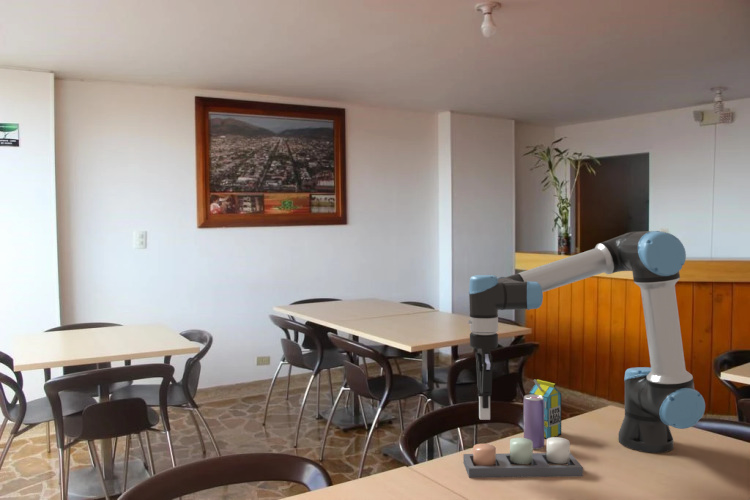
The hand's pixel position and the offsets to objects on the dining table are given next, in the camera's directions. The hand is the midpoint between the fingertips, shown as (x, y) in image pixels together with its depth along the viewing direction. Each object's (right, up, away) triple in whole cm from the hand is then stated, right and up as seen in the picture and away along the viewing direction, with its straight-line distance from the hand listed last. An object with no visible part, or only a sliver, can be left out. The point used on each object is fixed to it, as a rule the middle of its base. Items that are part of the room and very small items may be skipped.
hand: (484, 418), depth 159 cm
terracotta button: (0, -13, 0) cm, 13 cm away
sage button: (+10, -11, 0) cm, 15 cm away
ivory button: (+20, -11, 0) cm, 23 cm away
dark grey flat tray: (+10, -14, 0) cm, 17 cm away
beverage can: (+18, -14, +17) cm, 29 cm away
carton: (+24, -13, +27) cm, 39 cm away
